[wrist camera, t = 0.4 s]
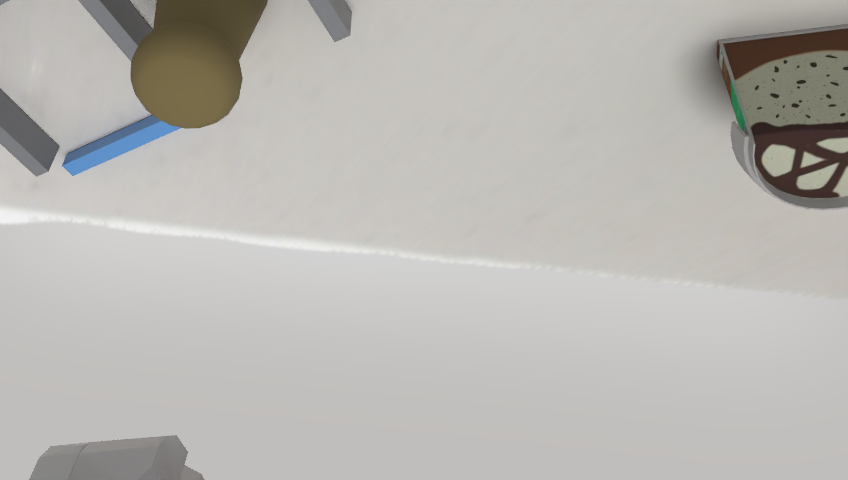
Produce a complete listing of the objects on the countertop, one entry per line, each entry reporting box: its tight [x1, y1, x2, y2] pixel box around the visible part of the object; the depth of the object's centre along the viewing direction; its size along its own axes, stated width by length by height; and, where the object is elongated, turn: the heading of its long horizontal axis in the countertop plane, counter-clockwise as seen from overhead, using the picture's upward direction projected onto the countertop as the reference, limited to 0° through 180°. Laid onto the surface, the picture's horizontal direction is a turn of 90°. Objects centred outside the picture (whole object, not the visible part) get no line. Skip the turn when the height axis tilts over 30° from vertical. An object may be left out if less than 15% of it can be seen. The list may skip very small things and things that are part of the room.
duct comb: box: [0, 0, 352, 177], centre depth 47 cm, size 13×23×2 cm, turn 115°
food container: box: [717, 24, 848, 210], centre depth 48 cm, size 12×6×10 cm, turn 97°
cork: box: [131, 0, 267, 128], centre depth 42 cm, size 6×6×11 cm
